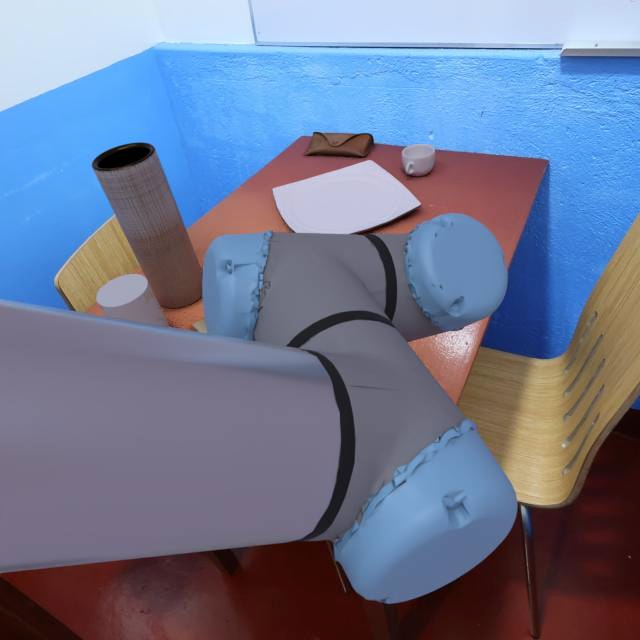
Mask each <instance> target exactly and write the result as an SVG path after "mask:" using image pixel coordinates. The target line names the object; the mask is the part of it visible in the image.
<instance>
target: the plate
mask: <svg viewBox="0 0 640 640" xmlns="http://www.w3.org/2000/svg"><path fill="white" fill-rule="evenodd" d="M271 191H272V194H273V199H274V202H275V205H276V209H277V211H278V213H279V215H280V217H281V219H282V220H283V221H284V223H285V225H286V226H287V227H288V228H289V229H290V230H291V231H292V233H323V234H357V235H359V234H362V233H364V232H368V231H371V230H373V229H377V228H380V227H382V226H385V225H388V224H390V223H392V222H394V221H396V220H398V219H400V218H402V217H403V216H405V215H407V214H409V213H411V212H413V211H415V210H417V209H419V208H421V206H422V202H420V201H419V200H418V198H417V197H416V196H415V195H414V194H413V193H412V192H411V191H410V190H409V189H408V188H407V187H406V186H405V185H404V184H403V183H402V182H401V181H399V180H398V179H397V178H396V177H394V176H393V175H392V174H391V173H389V172H388V171H387V170H386V169H385V168H383V167H382V166H380V165H379V164H378V163H376V162H375V161H373V160H372V159H367V160H365V161H361V162H358V163H355V164H351V165H349V166H345V167H342V168H339V169H335V170H332V171H328V172H325V173H322V174H318V175H314V176H312V177H309V178H305V179H302V180H298V181H294V182H290V183H286V184H283V185H279V186H276V187H273V188H272V189H271Z"/></svg>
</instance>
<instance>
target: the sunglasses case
mask: <svg viewBox="0 0 640 640" xmlns="http://www.w3.org/2000/svg"><path fill="white" fill-rule="evenodd" d="M374 145H375V139H374V136H373V134H372V133H369V132H360V133H354V132H353V133H352V132H321V131H313V132H312V136H311V139H310V141H309V146H308V149H307V151H306V153H305V154H304V155H305V156H329V157H343V158H355V157H356V158H358V157H360V158H361V157H367V156H368V155H369V154H370V152H371V151H372V150H373V149H374Z"/></svg>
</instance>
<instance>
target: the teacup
mask: <svg viewBox="0 0 640 640" xmlns="http://www.w3.org/2000/svg"><path fill="white" fill-rule="evenodd" d="M435 160H436V149H435V147H434V146H433V145H432V144H428V143H415V144H411V145H408V146H406V147H404V149H402V151H401V163H402V168H403V169H404V171H405V174H406V175H410V176H412V177H423V176H426V175H427V174H428V173H430V172H431V171H432V169H433V168H434V165H435Z"/></svg>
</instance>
